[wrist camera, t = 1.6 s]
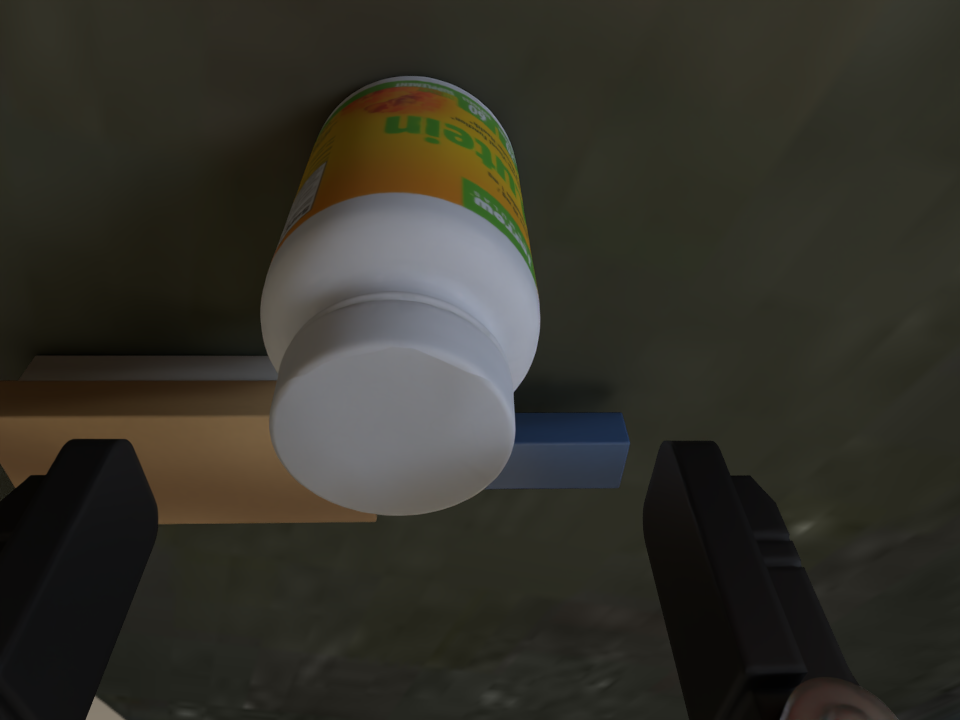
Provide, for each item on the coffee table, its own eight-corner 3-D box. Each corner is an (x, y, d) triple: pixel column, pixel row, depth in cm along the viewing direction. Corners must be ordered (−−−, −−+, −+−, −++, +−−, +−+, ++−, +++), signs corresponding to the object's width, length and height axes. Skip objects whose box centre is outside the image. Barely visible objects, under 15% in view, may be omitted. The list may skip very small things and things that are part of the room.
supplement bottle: (555, 134, 18) (630, 388, 11) (457, 287, 21) (463, 569, 14) (361, 27, 16) (288, 244, 9) (284, 211, 19) (181, 490, 12)
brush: (21, 347, 22) (-30, 417, 20) (620, 348, 23) (640, 415, 21) (75, 455, 25) (37, 526, 23) (599, 452, 26) (614, 520, 24)
